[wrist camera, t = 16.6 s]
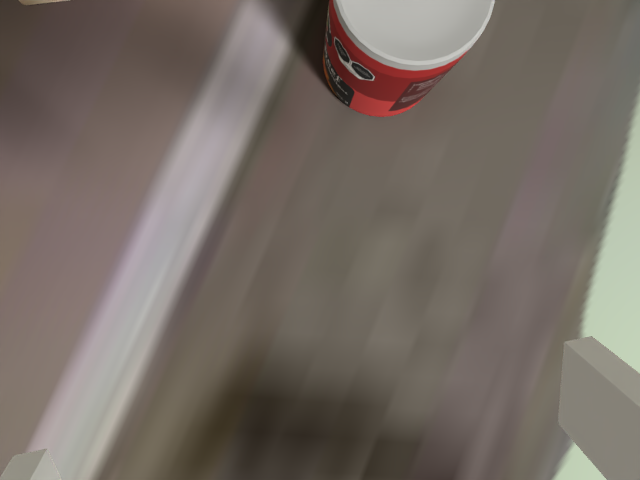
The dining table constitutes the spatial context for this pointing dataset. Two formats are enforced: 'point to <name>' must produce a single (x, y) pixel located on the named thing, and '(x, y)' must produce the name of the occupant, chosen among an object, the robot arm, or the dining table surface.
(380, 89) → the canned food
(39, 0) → the maple plank
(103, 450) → the dining table surface
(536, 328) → the dining table surface
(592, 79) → the dining table surface
